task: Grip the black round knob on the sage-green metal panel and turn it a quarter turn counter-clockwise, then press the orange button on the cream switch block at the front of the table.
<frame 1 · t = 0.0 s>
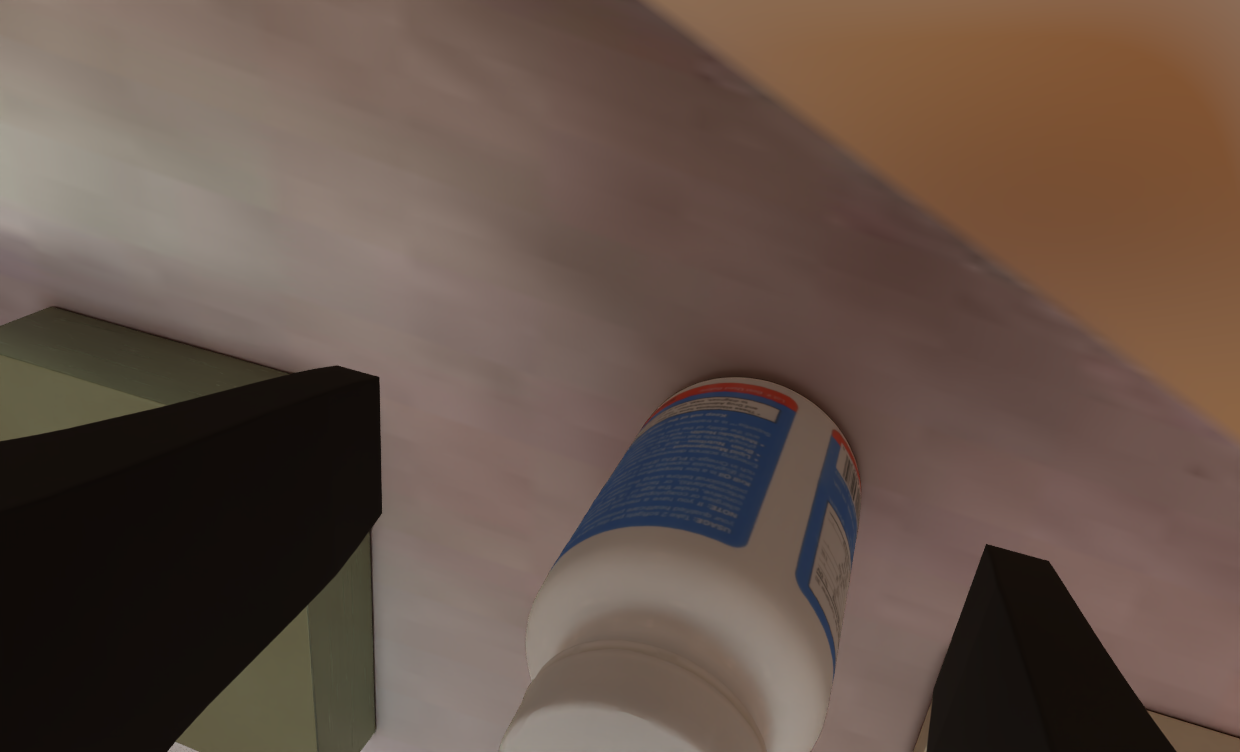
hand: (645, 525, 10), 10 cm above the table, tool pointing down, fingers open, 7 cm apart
pill bottle: (750, 471, 22), on the table
panel: (222, 530, 29), on the table
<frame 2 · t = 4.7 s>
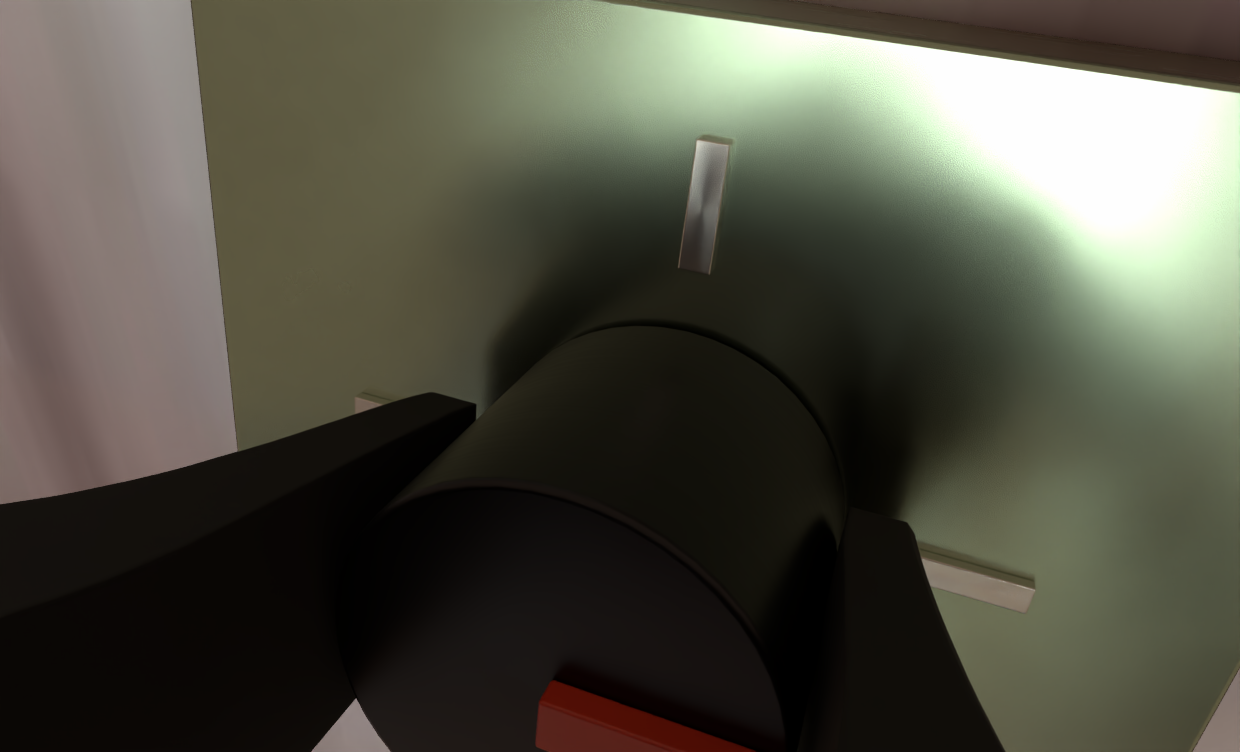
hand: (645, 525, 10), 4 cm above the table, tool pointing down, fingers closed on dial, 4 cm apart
dial: (608, 586, 9), point 5 cm above the table, hinge at 0.1°, touching gripper
panel: (720, 389, 14), on the table
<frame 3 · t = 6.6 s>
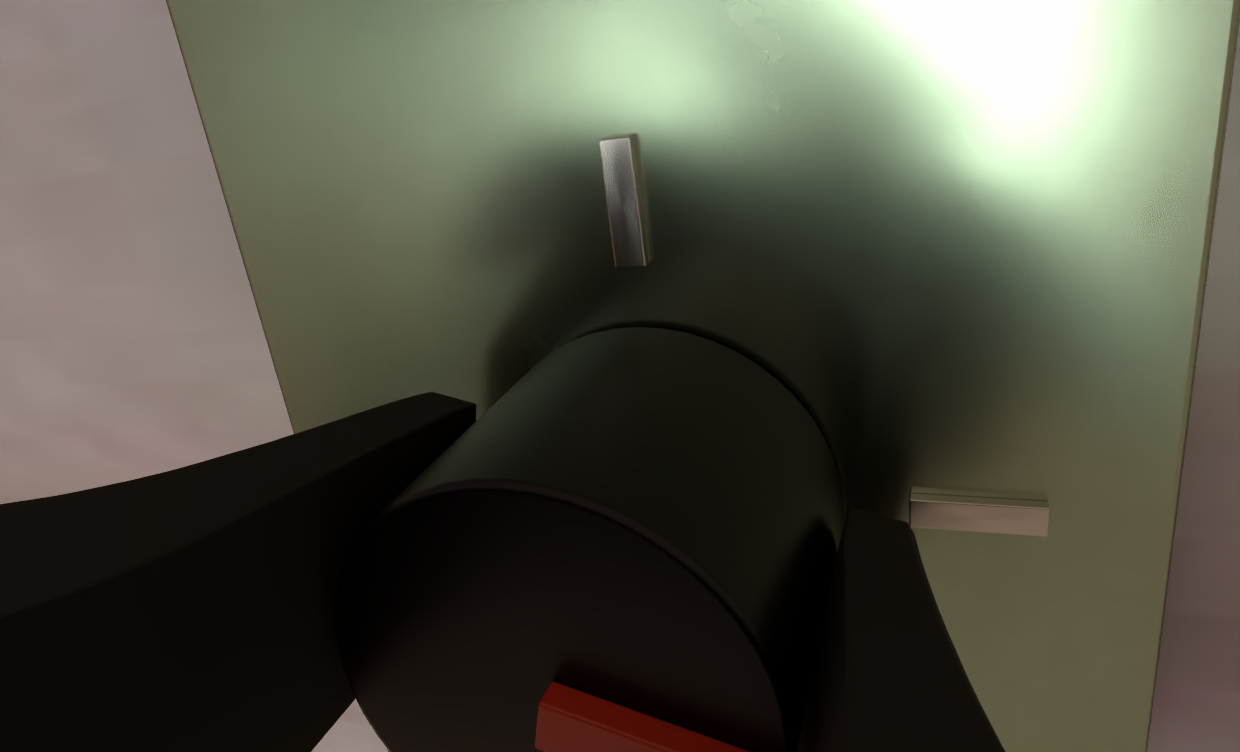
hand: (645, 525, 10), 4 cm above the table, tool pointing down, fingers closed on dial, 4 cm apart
dial: (607, 587, 9), point 5 cm above the table, hinge at 75.6°, touching gripper
panel: (719, 390, 14), on the table
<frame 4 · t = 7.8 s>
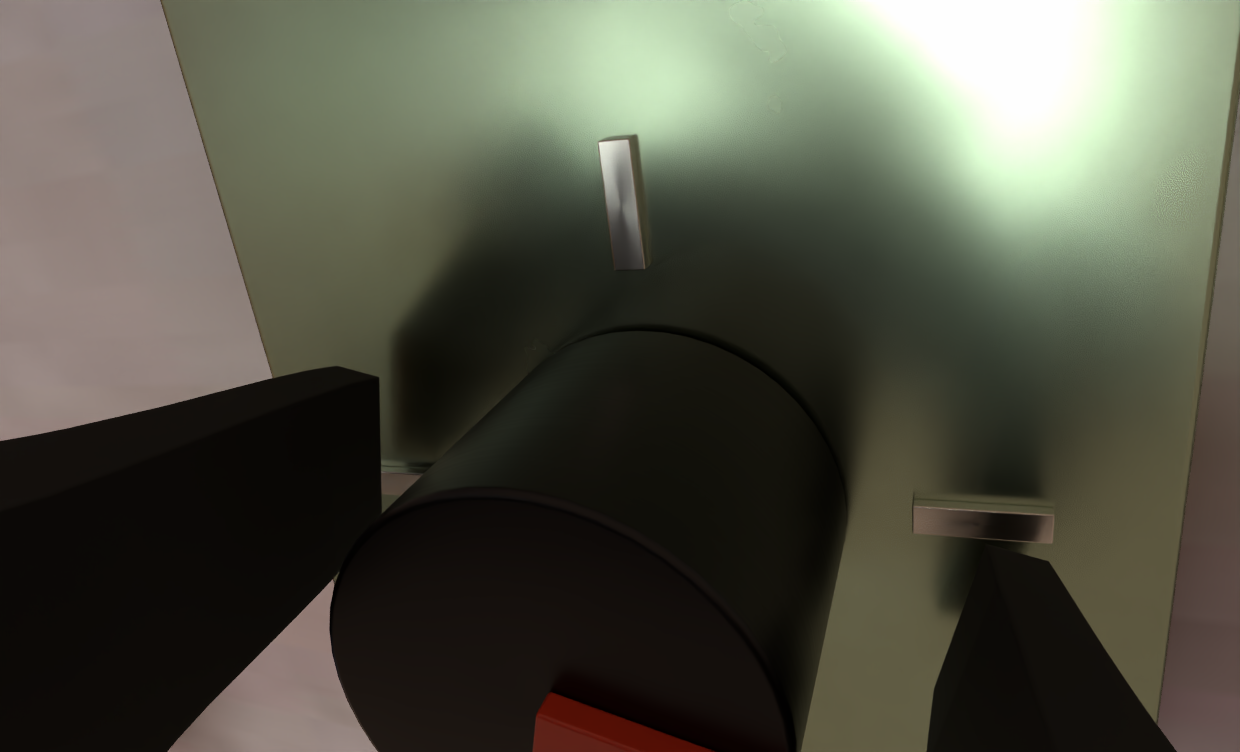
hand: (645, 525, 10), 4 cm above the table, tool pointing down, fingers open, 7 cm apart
dial: (606, 595, 9), point 5 cm above the table, hinge at 75.5°
panel: (720, 393, 14), on the table
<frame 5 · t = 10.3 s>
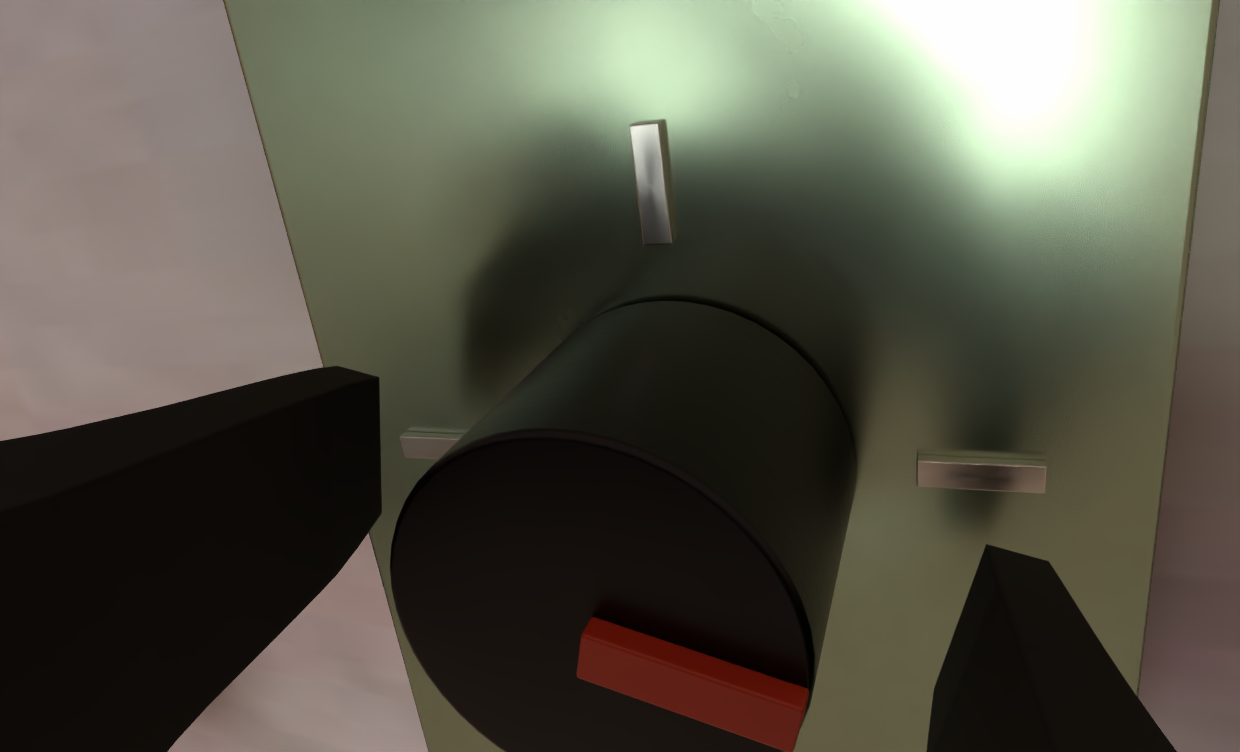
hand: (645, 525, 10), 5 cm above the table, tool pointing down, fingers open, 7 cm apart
dial: (637, 540, 10), point 5 cm above the table, hinge at 75.5°
panel: (735, 366, 14), on the table
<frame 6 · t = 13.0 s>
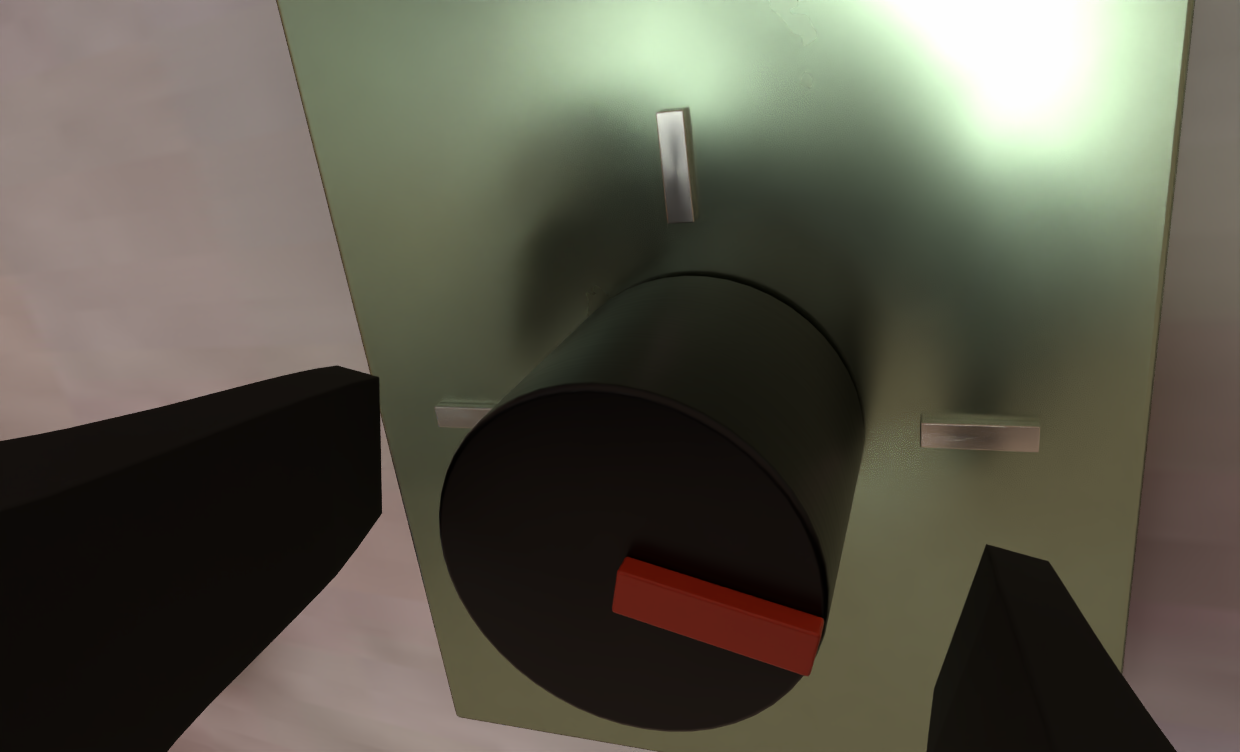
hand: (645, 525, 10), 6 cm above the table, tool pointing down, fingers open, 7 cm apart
dial: (663, 494, 11), point 5 cm above the table, hinge at 75.5°
panel: (748, 343, 15), on the table
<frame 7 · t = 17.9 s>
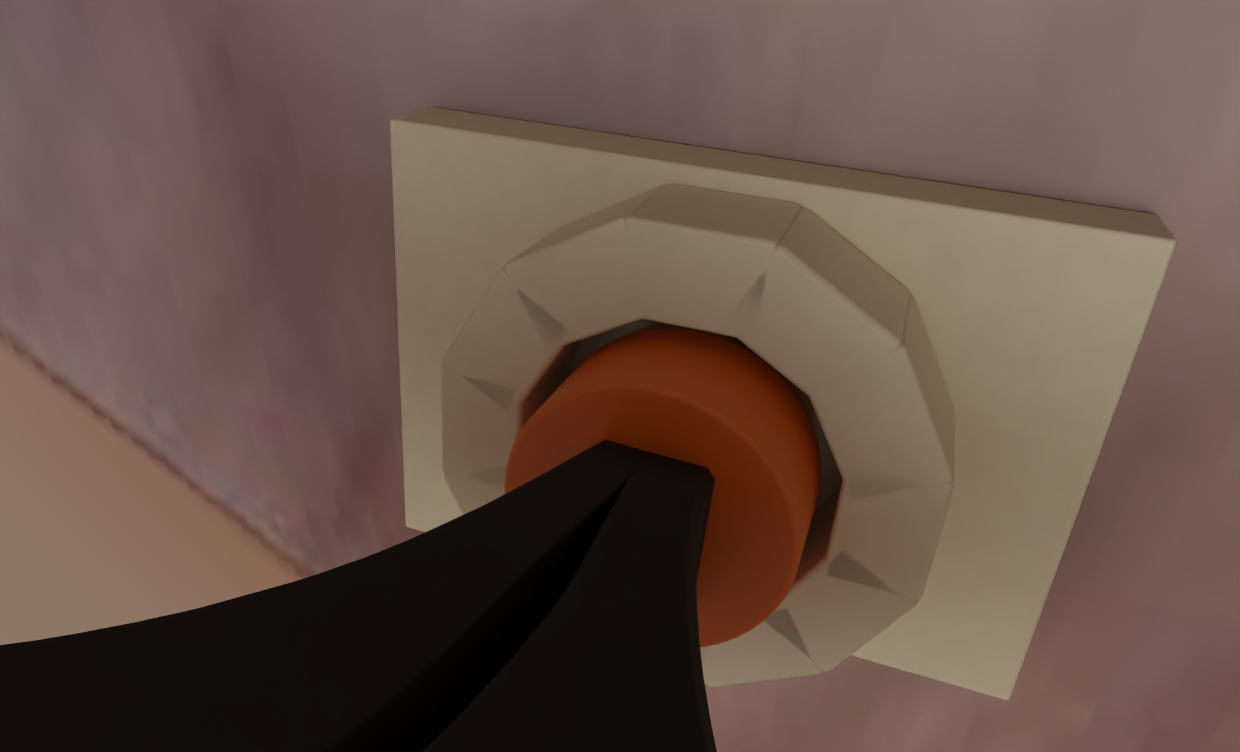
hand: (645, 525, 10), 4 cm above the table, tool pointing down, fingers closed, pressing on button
button: (664, 487, 11), point 3 cm above the table, slide at -0.2 cm, touching gripper
switch block: (724, 382, 14), on the table
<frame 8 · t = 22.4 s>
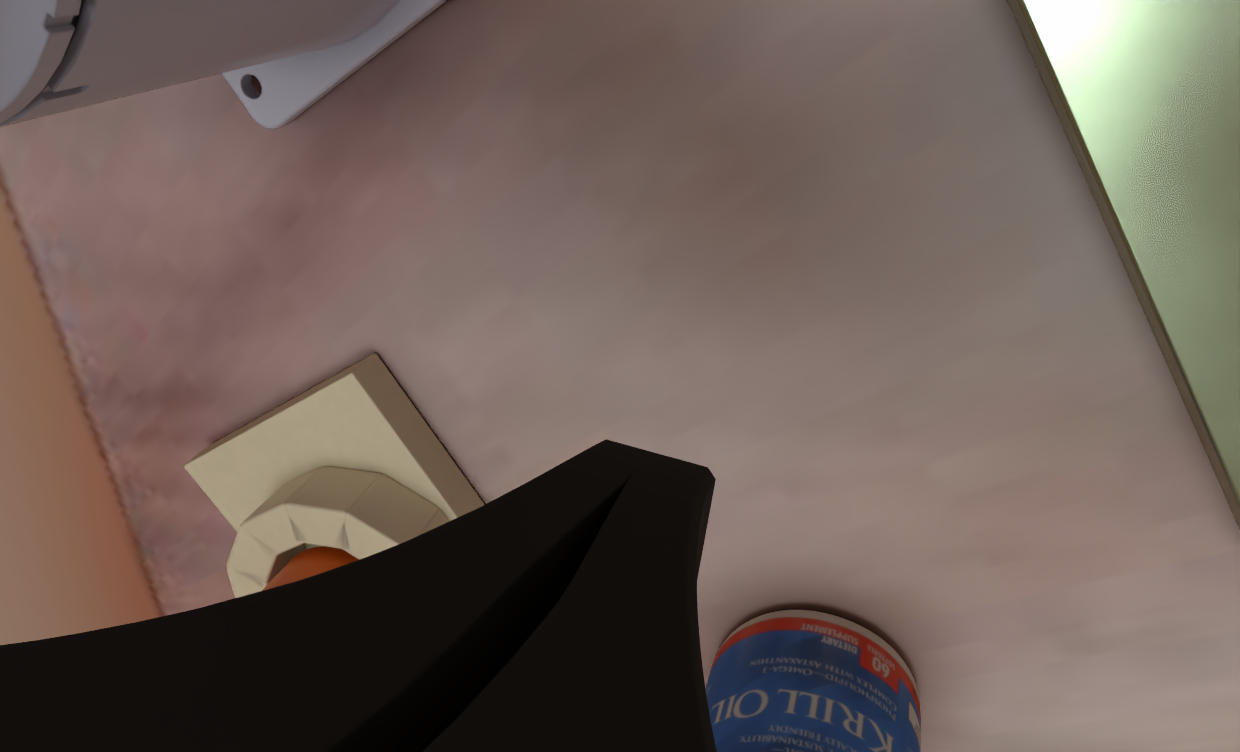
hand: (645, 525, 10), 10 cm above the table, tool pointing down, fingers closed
pill bottle: (812, 676, 24), on the table
button: (328, 623, 23), point 3 cm above the table, slide at 0.1 cm
switch block: (394, 541, 26), on the table
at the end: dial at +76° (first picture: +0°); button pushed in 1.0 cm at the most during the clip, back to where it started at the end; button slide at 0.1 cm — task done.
